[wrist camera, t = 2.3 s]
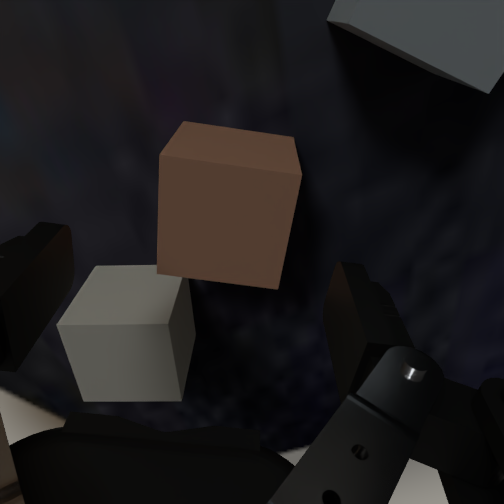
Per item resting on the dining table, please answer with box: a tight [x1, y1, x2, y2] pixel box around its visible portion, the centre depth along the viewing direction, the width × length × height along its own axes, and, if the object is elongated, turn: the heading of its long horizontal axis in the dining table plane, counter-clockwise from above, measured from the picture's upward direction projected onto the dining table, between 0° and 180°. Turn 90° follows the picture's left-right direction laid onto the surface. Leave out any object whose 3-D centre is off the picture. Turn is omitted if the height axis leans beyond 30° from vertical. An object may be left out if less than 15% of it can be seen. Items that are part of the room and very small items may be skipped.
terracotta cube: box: [157, 121, 302, 289], centre depth 18 cm, size 5×5×5 cm
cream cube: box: [57, 265, 196, 401], centre depth 22 cm, size 5×5×5 cm
